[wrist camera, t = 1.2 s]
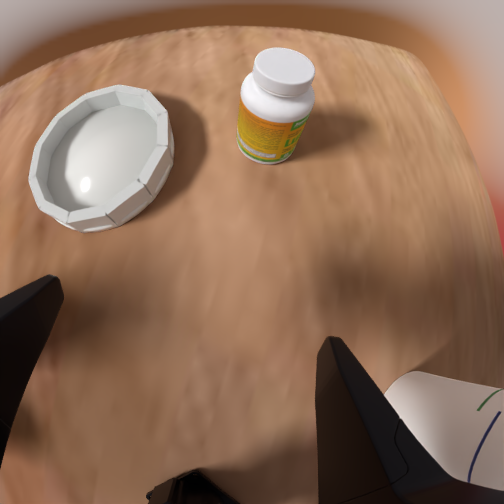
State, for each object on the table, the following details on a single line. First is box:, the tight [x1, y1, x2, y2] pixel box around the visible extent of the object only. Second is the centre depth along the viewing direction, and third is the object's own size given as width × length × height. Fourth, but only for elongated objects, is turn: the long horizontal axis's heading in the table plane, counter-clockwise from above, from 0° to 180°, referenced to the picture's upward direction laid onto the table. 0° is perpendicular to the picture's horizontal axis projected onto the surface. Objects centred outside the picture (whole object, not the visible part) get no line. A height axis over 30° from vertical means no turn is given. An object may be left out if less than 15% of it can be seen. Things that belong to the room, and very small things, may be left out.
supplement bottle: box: [237, 48, 315, 164], centre depth 20 cm, size 5×5×10 cm
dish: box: [29, 85, 175, 233], centre depth 21 cm, size 14×14×3 cm
